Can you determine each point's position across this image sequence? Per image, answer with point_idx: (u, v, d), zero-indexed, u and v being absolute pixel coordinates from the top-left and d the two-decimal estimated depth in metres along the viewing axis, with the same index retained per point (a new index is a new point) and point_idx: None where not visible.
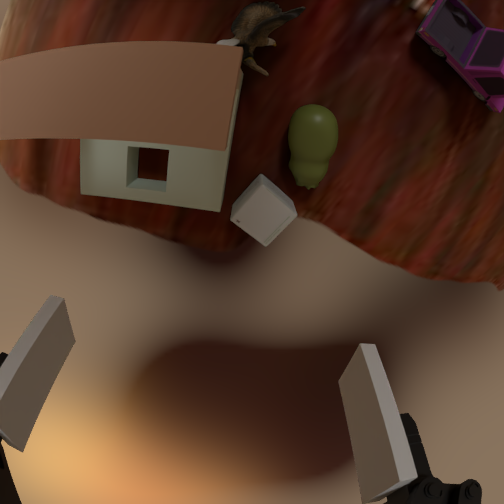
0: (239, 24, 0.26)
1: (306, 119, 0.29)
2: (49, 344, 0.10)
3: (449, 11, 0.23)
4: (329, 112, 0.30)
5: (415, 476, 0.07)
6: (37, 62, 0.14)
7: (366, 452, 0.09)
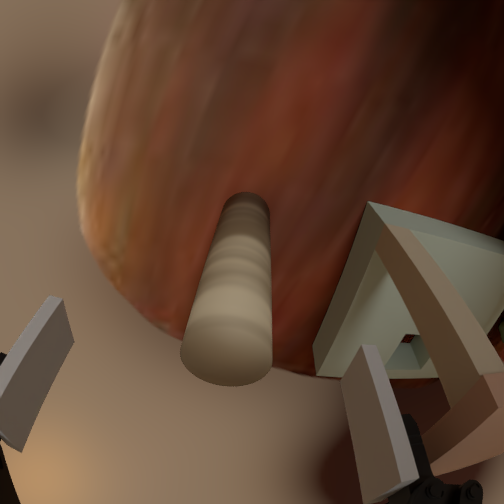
0: None
1: None
2: (48, 344, 0.10)
3: None
4: None
5: (417, 477, 0.07)
6: None
7: (367, 453, 0.09)
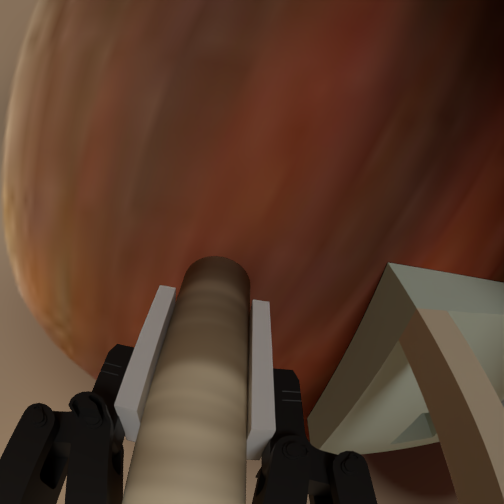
0: None
1: None
2: None
3: None
4: None
5: (273, 429, 0.08)
6: None
7: None
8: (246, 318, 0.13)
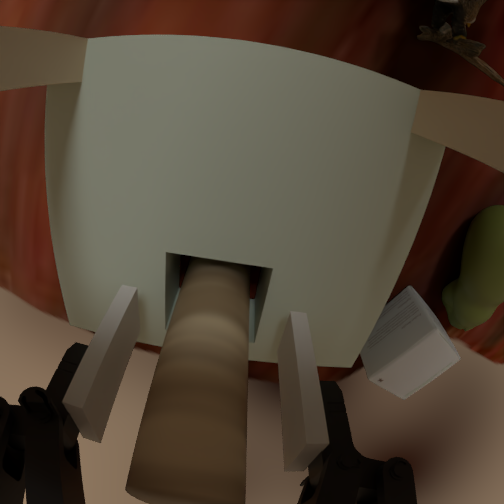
0: None
1: None
2: (125, 332, 0.12)
3: None
4: None
5: (327, 442, 0.08)
6: None
7: (288, 416, 0.10)
8: (247, 286, 0.16)
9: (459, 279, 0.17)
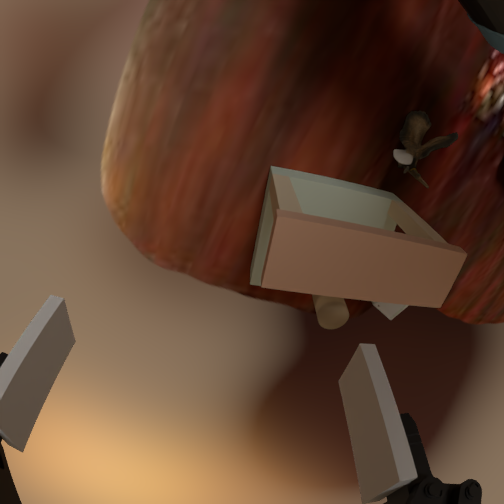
0: (407, 136, 0.34)
1: None
2: (49, 344, 0.10)
3: None
4: None
5: (416, 476, 0.07)
6: (334, 236, 0.23)
7: (366, 452, 0.09)
8: None
9: None
